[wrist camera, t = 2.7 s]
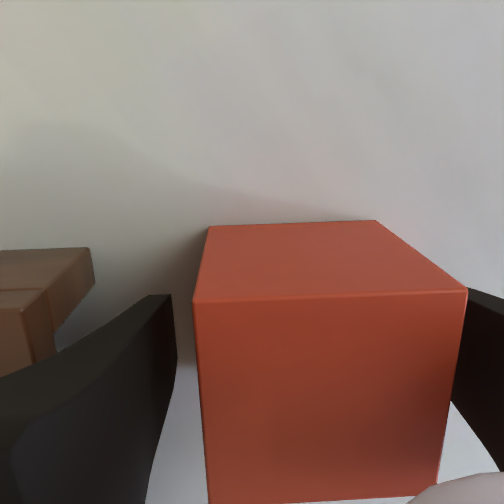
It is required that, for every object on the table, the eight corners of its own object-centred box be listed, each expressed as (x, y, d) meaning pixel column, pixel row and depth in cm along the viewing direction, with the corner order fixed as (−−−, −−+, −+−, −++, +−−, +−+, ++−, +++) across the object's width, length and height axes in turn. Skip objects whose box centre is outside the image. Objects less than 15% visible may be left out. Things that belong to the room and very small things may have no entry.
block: (376, 219, 12) (471, 288, 7) (365, 362, 13) (436, 496, 9) (208, 225, 12) (190, 300, 7) (217, 369, 13) (208, 509, 9)
